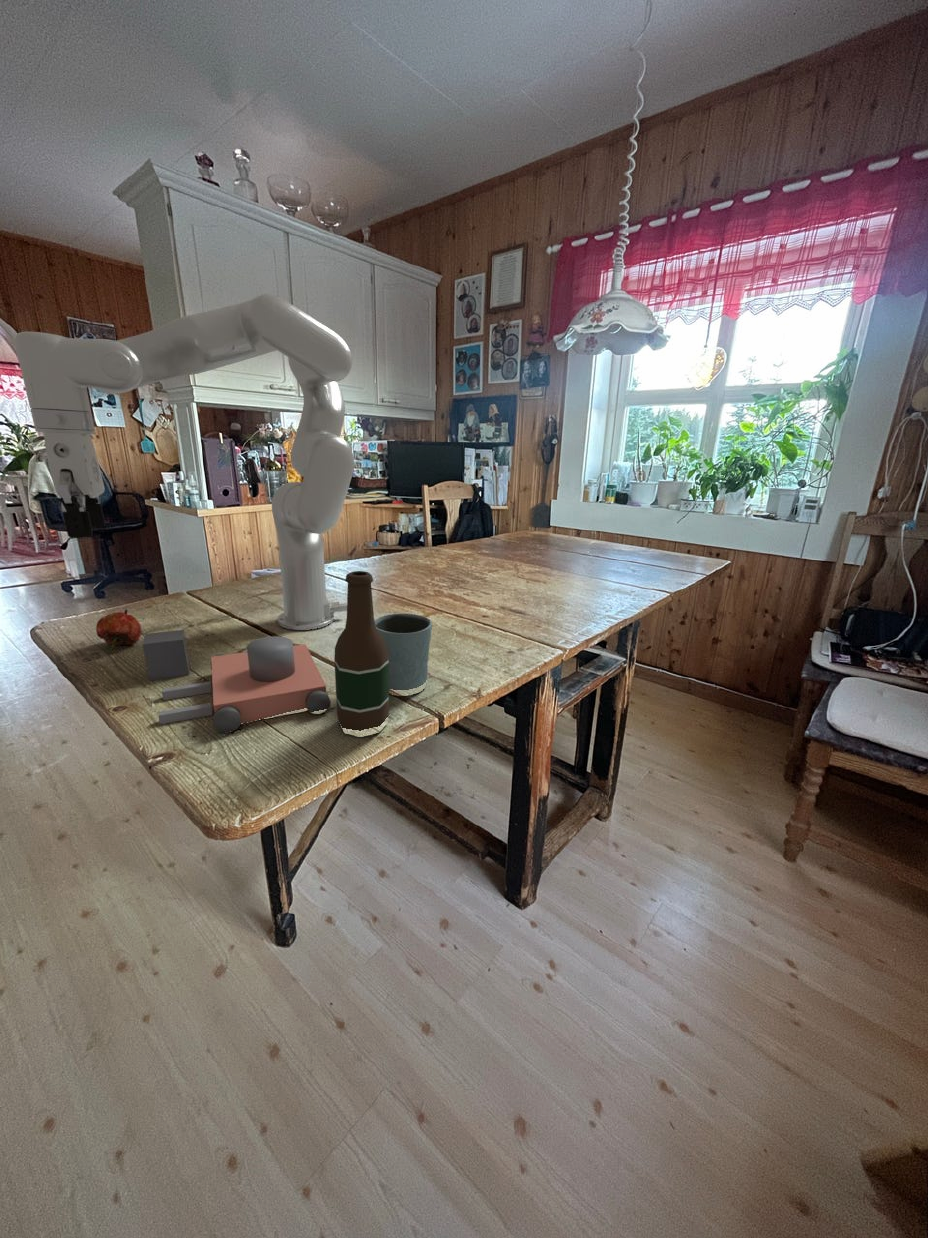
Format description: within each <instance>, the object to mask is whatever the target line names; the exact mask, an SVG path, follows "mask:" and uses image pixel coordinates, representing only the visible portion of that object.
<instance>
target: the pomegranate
mask: <svg viewBox="0 0 928 1238" xmlns="http://www.w3.org/2000/svg"><path fill="white" fill-rule="evenodd" d="M95 628H96V629H95V630H96V635H97V637H98V638H100V639H103V640H104V641H105V643H107V644H108V645H110V646H111V647H110V650H109V652H108V655H111V653H112V651H113V649H114V648H115V646H123V645H125V646H132V645H135V644H136V643H137V642H139V640H140V638H141V636H142V631H143V630H142V626H141V624H140V623H139V621H138V620H137V619H136V617H135V616H133V615H132V614H128V609H125V610H124V612H121V611H120V612H112V613H109V614H106V615H105V616H104V615H103V616H101V617H100V618H99V619H98V621H97V623H96V627H95Z"/></svg>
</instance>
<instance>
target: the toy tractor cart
mask: <svg viewBox="0 0 928 1238" xmlns="http://www.w3.org/2000/svg"><path fill="white" fill-rule="evenodd" d="M293 642H294V641H293V640H292V639H291V638H288V637H285V636H277V635H276V636H266V637H260V638H257V639H254V640H252V641H250V642H249V643H248V644H247V645H246V652H244V651H243V652H238V653H228V654H226V653H220V654H216V655H215V656H211V657H210V658H211V661H210V669H211V677H212V678H211V679H212V681H210V680H209V681H204V682H198V683H197V682H196V683H190V684H183V685H178V686H172V687H164V688H162V689H161V695H162V699H163V701H167V700H173V699H178V698H179V699H180V698H185V697H190V696H198V695H205V694H209V693H212V699H213V700H212V701H213V703H212V702H208V703H203V704H196V705H191V706H184V707H178V708H173V709H167V710H161V711H158V715H157V716H158V721H159V725H165V724H169V723H170V724H171V723H176V722H181V721H186V720H187V721H188V720H193V719H197V718H202V717H208V716H212V720H213V721H212V722H213V727H214V729H215V730H216V731H217V732H219V733H222V734H226V733H225V732H230V731H233V730H235V731H236V730H237V729H238V728H239V727H240V724H241V723H247V722H251V721H255V720H259V719H264V718H267V717H272V716H275V715H279V714H283V713H286V712H291V711H295V710H300V709H304V708H307V709H308V711H309V713H310V712H314V711H319V710H324V709H328V708H329V709H330V707H331V705H332V702H331V698H330V697H329V695H328V693H327V685H326V683H325V682H324V679H323V677H322V675H321V673H320V671H319V668H318V667H317V664H316V663H315V661H314V659H313V657H312V654H311V653H310V651H309V649H308V647H307V643H304V644H299V643H293ZM211 682H212V683H211ZM212 704H213V706H212ZM329 709H328V710H329ZM213 710H214V711H213ZM213 712H214V713H213ZM247 724H248V723H247ZM233 732H234V731H233ZM230 733H231V732H230Z"/></svg>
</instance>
